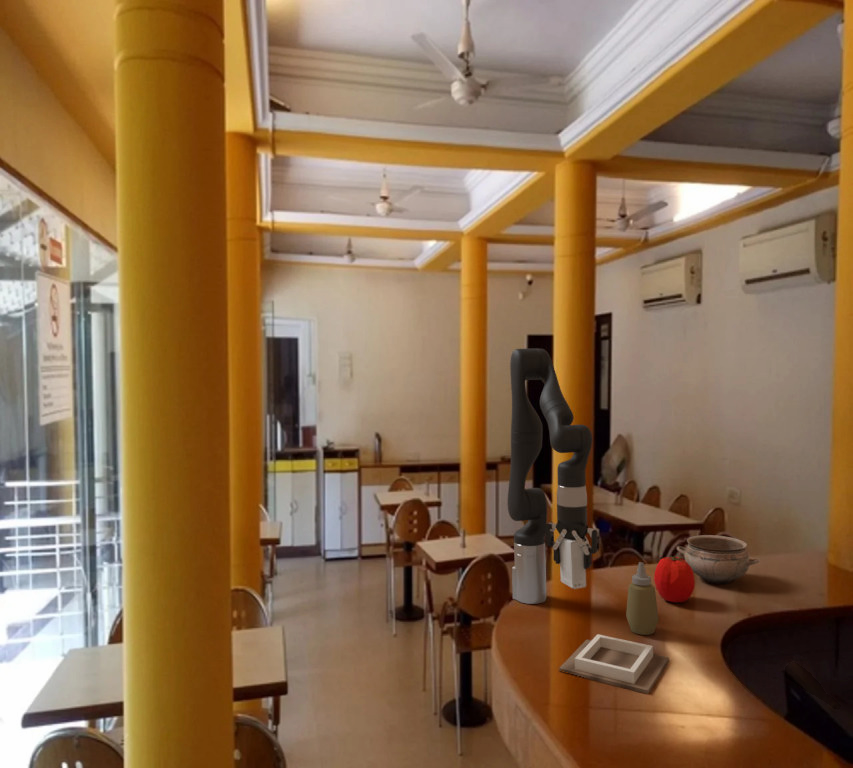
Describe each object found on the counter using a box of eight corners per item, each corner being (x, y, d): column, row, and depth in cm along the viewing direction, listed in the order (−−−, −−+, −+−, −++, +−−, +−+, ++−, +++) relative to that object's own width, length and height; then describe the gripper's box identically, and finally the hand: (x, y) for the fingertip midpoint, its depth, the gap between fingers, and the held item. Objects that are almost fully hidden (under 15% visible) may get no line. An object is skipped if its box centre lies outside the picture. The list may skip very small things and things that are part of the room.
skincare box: (587, 587, 165) (586, 540, 165) (571, 589, 164) (571, 542, 163) (573, 579, 171) (573, 534, 170) (558, 581, 169) (558, 536, 169)
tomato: (672, 591, 198) (671, 548, 198) (705, 604, 187) (704, 558, 187) (643, 598, 193) (643, 554, 193) (676, 611, 182) (675, 565, 182)
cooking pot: (666, 580, 208) (665, 542, 208) (687, 565, 222) (687, 530, 222) (750, 597, 191) (750, 556, 191) (767, 580, 205) (767, 542, 205)
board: (559, 671, 149) (559, 668, 149) (586, 642, 164) (586, 639, 164) (648, 694, 137) (648, 690, 137) (669, 660, 152) (668, 657, 152)
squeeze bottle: (658, 626, 172) (657, 559, 172) (659, 639, 164) (657, 568, 164) (626, 623, 175) (625, 557, 174) (625, 635, 167) (624, 566, 167)
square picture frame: (574, 669, 148) (574, 658, 148) (597, 644, 161) (597, 634, 161) (634, 683, 140) (633, 672, 140) (653, 656, 153) (652, 645, 153)
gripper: (539, 502, 167) (540, 565, 168) (594, 508, 159) (594, 574, 160) (551, 496, 173) (552, 557, 174) (604, 502, 165) (604, 566, 166)
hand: (572, 565), depth 167 cm, fingers closed on skincare box, 7 cm apart
